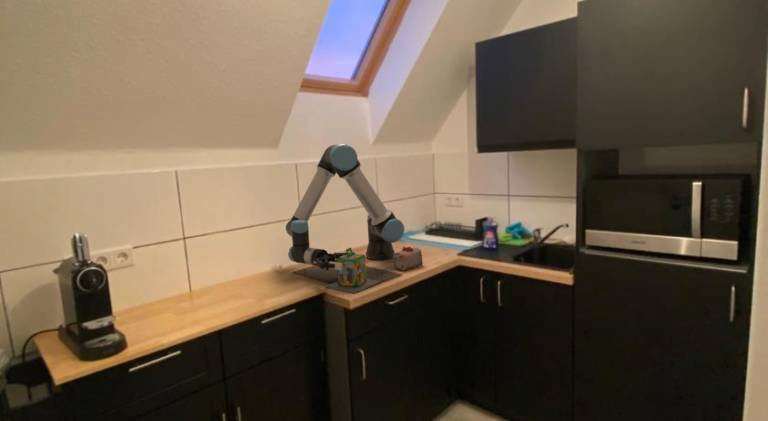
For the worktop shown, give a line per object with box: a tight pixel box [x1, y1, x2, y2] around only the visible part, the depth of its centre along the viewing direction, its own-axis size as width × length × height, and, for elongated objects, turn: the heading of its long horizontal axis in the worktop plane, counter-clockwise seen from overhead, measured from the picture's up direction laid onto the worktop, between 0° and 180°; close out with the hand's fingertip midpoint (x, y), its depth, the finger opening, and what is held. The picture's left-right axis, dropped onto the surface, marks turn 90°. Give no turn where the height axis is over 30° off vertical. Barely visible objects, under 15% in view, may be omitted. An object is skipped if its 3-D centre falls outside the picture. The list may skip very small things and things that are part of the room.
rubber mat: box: [324, 278, 381, 295], centre depth 175 cm, size 16×16×1 cm
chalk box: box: [335, 247, 367, 287], centre depth 174 cm, size 9×9×15 cm
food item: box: [392, 246, 423, 272], centre depth 198 cm, size 14×8×10 cm, turn 132°
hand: (353, 262), depth 173 cm, fingers open, 13 cm apart
